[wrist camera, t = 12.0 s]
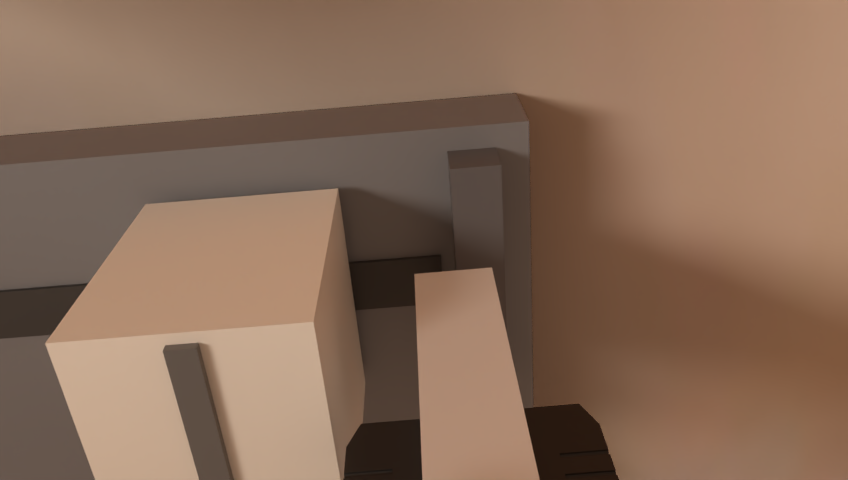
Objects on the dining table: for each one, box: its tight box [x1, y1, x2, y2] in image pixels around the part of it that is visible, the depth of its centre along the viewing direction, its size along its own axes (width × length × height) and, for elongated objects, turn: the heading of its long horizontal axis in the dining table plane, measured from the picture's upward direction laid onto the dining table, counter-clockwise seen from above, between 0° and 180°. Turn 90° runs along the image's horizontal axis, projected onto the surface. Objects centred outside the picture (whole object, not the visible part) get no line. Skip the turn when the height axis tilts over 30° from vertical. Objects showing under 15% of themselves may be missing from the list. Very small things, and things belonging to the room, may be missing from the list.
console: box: [0, 93, 533, 480], centre depth 20 cm, size 24×17×3 cm
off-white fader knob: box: [45, 188, 365, 480], centre depth 15 cm, size 4×5×5 cm
